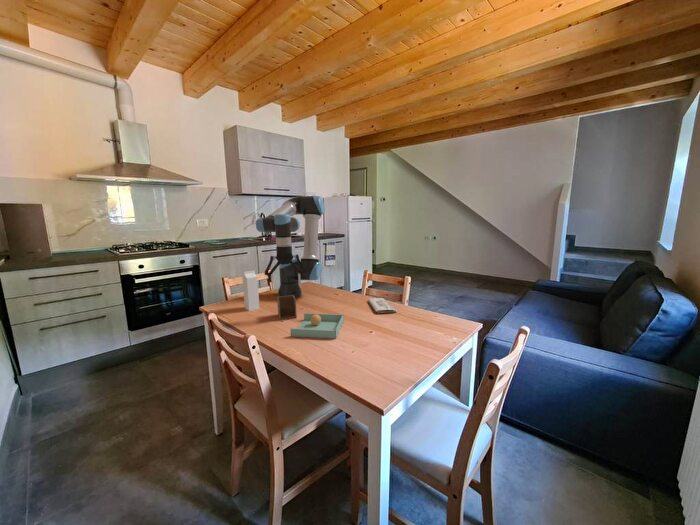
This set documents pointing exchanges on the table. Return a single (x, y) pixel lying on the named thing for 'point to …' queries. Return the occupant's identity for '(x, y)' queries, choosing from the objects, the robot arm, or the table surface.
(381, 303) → the newspaper
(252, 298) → the milk
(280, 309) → the sleeve
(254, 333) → the table surface
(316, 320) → the ball
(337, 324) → the tray
